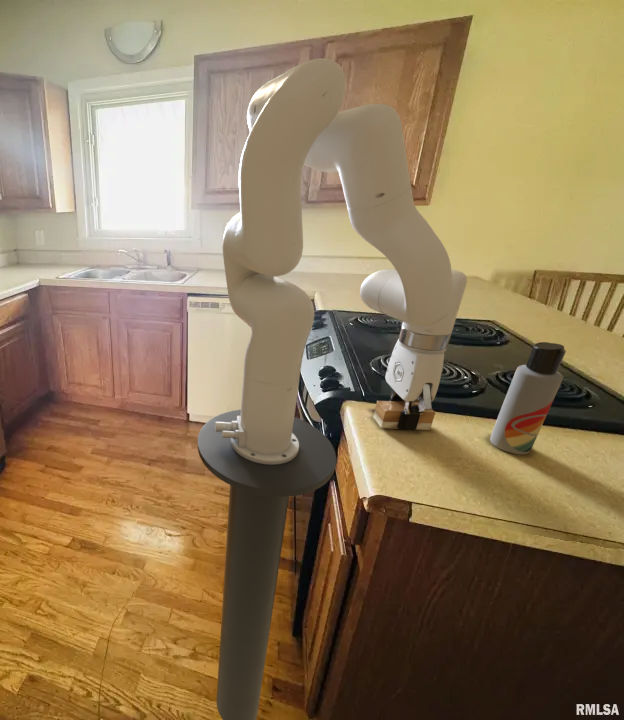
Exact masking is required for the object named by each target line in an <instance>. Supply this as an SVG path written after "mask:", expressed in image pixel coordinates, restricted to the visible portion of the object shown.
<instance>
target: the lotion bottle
mask: <svg viewBox="0 0 624 720" xmlns="http://www.w3.org/2000/svg"><path fill="white" fill-rule="evenodd" d="M566 353H567V350H566V349H565V346H564V345H563V344H560V343H555V342H547V341H542V342H537V343H535V344H534V345H533V347H532V349H531V352H530V354H529V357H528V360H527V362H526V364H521V365H519V366H517V368H516V370H515V371H514V375H513V377H512V379H511V382H510V385H509V387H508V390H507V391H506V395H505V398H504V400H503V403H502V405H501V408H500V410H499V413H498V415H497V418H496V421H495V422H494V423H495V424H494V426H493V428H492V432H491V434H490V437H489V441H490V443H491V444H492V445H493V446H494V447H496V448H498V449H499V450H501V451H503V452H506V453H510V454H514V455H527V454H529V453H530V452H531V450H532V448H534V447H533V446H534V445H535V442H536V441H537V438H538V435H539V434H540V431H541V429H542V426H543V424H544V422H545V420H546V419H547V418H546V417H547V415H548V413H549V411H550V409H551V406H552V404H553V402H554V401H555V398H556V395H557V393H558V391H559V388H560V386H561V384H562V383H563V379H564V375H563V374H562V373H561V372H559V371H558V370H559V368H560V366H561V363H562V362H563V359H564V357H565V355H566Z"/></svg>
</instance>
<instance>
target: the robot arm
mask: <svg viewBox="0 0 624 720" xmlns="http://www.w3.org/2000/svg"><path fill="white" fill-rule="evenodd" d="M345 94H346V77H345V73H344V71H343V68H342V67H341V65H340V64H339V63H338V62H336V61H335V60H333V59H330V58H323V57H322V58H321V57H320V58H314V59H310V60H307V61H304V62H302V63H300V64H298V65H296V66H294V67H292V68H290V69H288V70H287V71H285V72H283V73H282V74H280V75H278V76H276V77H275V78H272V79H271V80H269V81H267V82H266V83H264V84H263V85H262V86H260V88H259V89H257V90H256V92H255V93H254V94H253V96H252V97H251V100H250V102H249V104H248V107H247V113H246V120H247V125H248V129H249V134H248V136H247V138H246V141H245V143H244V146H243V149H242V153H241V156H240V163H239V168H238V189H239V191H238V192H239V209H240V210H239V212H238V213H236V214H235V215H234V216H233V217H232V218H231V219H230V220H229V222H228V223H227V225H226V227H225V230H224V233H223V236H222V257H223V265H224V273H225V281H226V289H227V295H228V300H229V304H230V307H231V309H232V311H233V313H234V314H235V315H236V316H237V317H238V318H239V319H240V320H241V321H243V322H244V323H245V324H246V325H247V326H248V327H250V329H251V335H250V337H249V342H248V344H247V347H246V349H245V353H244V359H243V376H242V388H241V389H242V390H241V401H240V402H241V404H240V410H241V416H237V421H232V423H228V422H215V431H216V432H222V438H231V445H232V447H233V449H234V450H235V451H236V452H237V453H238V454H239V455H241V456H242V457H244V458H246V459H248V460H250V461H253V462H256V463H260V464H268V465H275V464H282V463H286V462H288V461H291V460H292V459H294V458H295V457H296V455H297V454H298V451H299V441H298V439H297V438H296V436H295V435H294V434H293V433H292V430H293V422H294V417H295V414H296V406H297V399H298V392H299V385H300V378H301V372H302V371H301V369H302V364H303V358H304V353H305V349H306V345H307V341H308V338H309V336H310V333H311V331H312V328H313V326H314V322H315V306H314V303H313V301H312V299H311V298H310V296H309V294H308V293H307V292H306V291H305V290H303V289H302V288H301V287H299V286H298V285H296V284H294V283H292V282H290V281H288V280H285V279H284V278H280V277H281V276H285V275H287V274H289V273H291V272H292V271H293V270H295V269H296V267H298V265H299V263H300V261H301V259H302V256H303V250H304V232H303V231H304V229H303V208H302V207H303V205H302V177H303V176H302V175H303V169H304V166H305V167H308V168H310V169H312V170H314V171H315V170H316V171H318V172H322V173H338V175H339V179H340V183H341V187H342V191H343V196H344V200H345V203H346V208H347V214H348V218H349V221H350V225H351V227H352V229H353V230H354V231H355V232H356V233H357V234H358V235H359V236H360V237H361V238H362V239H363V240H365V241H366V242H367V243H368V244H370V245H371V246H373V247H374V248H375V249H376V250H378V251H379V252H380V253H381V254H382V255H384V257H385V258H386V259H387V260H388V261H389V262H390V263H391V265H392V266H393V268H385V269H381V270H377V271H374V272H373V273H371V274H369V275H368V276H367V277H366V278H364V280H363V281H362V283H361V286H360V288H359V296H360V299H361V301H362V302H363V304H365V305H366V307H368V308H370V309H371V310H373V311H375V312H377V313H380V314H382V315H384V316H387V317H391V318H393V319H395V320H397V321H400V322H402V324H401V327H400V331H399V336H398V339H397V341H396V343H395V345H394V347H393V349H392V353H391V356H390V358H389V362H388V364H387V369H386V371H385V377H384V380H385V381H386V383H387V384H388V385H389V387H390V388H391V390H390V393H389V396H390V399H389V401H404V402H405V409H404V411H402V412H401V415H400V419H399V423H398V426H397V428H398V429H397V430H399V431H416V430H417V429H416V428H417V424H418V421H419V418H420V415H422V414H423V413H424V412H431V410H433V407H432V402H433V401H434V400H435V399H436V395H437V392H438V389H439V386H440V383H441V377H442V374H443V368H444V361H445V352H446V351H447V350H448V346H449V343H450V339H451V337H452V332H453V330H454V327H455V324H456V321H457V316H458V313H459V310H460V307H461V303H462V301H463V296H464V294H465V290H466V287H467V283H468V277H467V276H466V273H464V272H462V271H460V270H457V269H452V264H451V261H450V257H449V254H448V251H447V249H446V248H445V245H444V244H443V242H442V241H441V240H440V238H439V236H438V235H437V233H436V232H435V231H434V230H433V228H432V227H431V225H430V223H429V222H428V221H427V220H426V219H425V217H424V216H423V215H422V213H420V212H419V210H418V209H417V207H416V205H415V202H414V201H415V200H414V196H413V190H412V184H411V177H410V171H409V164H408V156H407V151H406V145H405V138H404V137H405V136H404V132H403V126H402V125H403V124H402V120H401V117H400V115H399V112H397V110H396V109H395V108H394V107H393V106H390V105H388V104H385V103H371V104H364V105H361V106H356V107H352V108H349V109H345V110H342V111H340V109H341V107H342V104H343V102H344V98H345ZM412 402H418V405H414V406H412V407H411V405H412Z"/></svg>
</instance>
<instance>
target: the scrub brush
mask: <svg viewBox="0 0 624 720" xmlns="http://www.w3.org/2000/svg"><path fill="white" fill-rule="evenodd" d="M414 405H418V402H412V405H411V407H412V406H414ZM404 409H405V402H404V401H390V400H376V403H375V408H374V410H375V412H374V413H373V416H372V418H373V419H374V421H375V422H376V423H377V424H378V426H379V427H380V429H392V430H393V429H396V430H399V429H398V428H397V426H398V423H399V419H400V415H401V412H402V411H404ZM435 416H436V411H435V410H433V409H432V410H431V412H424V413H423V414H422V415H420V418H419V421H418V424H417V428H416V430H421V431H422V430H423V431H424V430H425V431H430V430H431V428H432V425H433V421H434V418H435Z"/></svg>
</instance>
